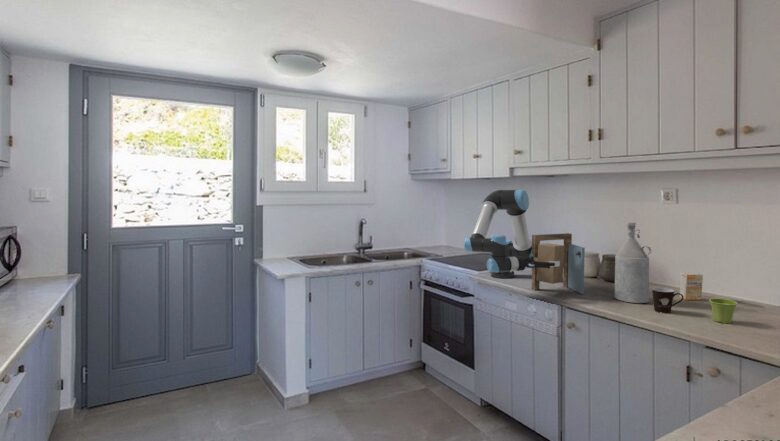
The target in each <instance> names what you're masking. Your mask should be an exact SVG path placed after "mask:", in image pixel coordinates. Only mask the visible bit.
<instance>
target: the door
mask: <svg viewBox="0 0 780 441" xmlns="http://www.w3.org/2000/svg"><path fill="white" fill-rule="evenodd" d="M585 248H586V247H584V246H580V245H577V244H573V243H572V244H568V287H569V289H571V290H573V291H575V292H577V293H579V294H580V295H584V294H585V252H586V251H585Z"/></svg>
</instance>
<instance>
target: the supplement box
mask: <svg viewBox="0 0 780 441" xmlns="http://www.w3.org/2000/svg"><path fill="white" fill-rule="evenodd" d="M679 293H680V294H682V295H683V300H684V301H702V300H703V299H702V296H703V274H701V273H697V272H693V273H692V272H684V273H683V272H680V284H679ZM679 298H680V300H681V299H682V296H681V295H679Z"/></svg>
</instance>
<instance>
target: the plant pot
mask: <svg viewBox="0 0 780 441" xmlns="http://www.w3.org/2000/svg"><path fill="white" fill-rule="evenodd" d="M708 301H709V302H710V305H711V312H712V321H714V322H716V323H718V322H719V323H721V324H731V323H733V322H732V321H733V316H734V312H735V308H736V306H737V305H738V302H737V301H735V300H731V299H727V298H710V299H708Z"/></svg>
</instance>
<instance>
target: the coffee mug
mask: <svg viewBox="0 0 780 441" xmlns="http://www.w3.org/2000/svg"><path fill="white" fill-rule="evenodd" d="M651 291H652V302H653V310H655V311H654V312H657V313H660V312H662V313H661V314H670V312H671V313H672V307H673V306H675V305H677V304H680V303H681V302H682V301H683V300H684V299H683V295H682V294H680V292H679V293H678V292H676V293H675V290H674V289H672V288H665V287H653V288H652V290H651ZM677 295H679V296H680V295H681V296H682V299H681V298H680V300H678V301H677V302H675V303H673V302H674V297H675V296H677Z"/></svg>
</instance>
